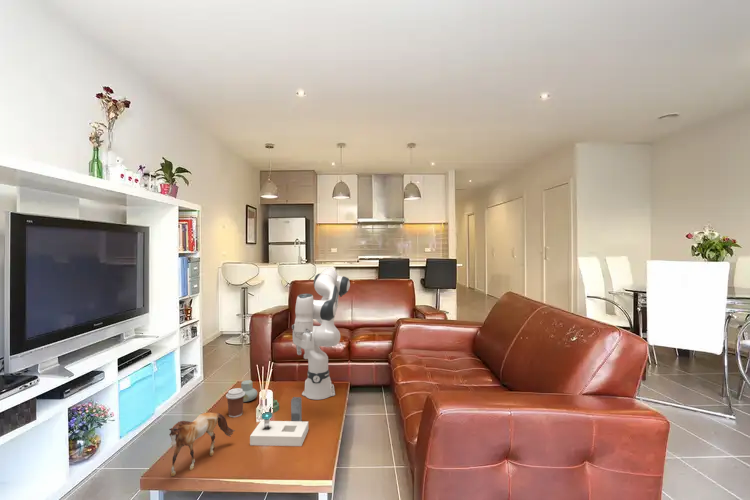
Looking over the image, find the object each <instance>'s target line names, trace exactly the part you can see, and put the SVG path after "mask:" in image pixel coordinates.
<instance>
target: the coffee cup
mask: <svg viewBox="0 0 750 500" xmlns="http://www.w3.org/2000/svg"><path fill="white" fill-rule="evenodd" d="M244 396H245V392H244V391H243V389H241V387H236V388H232V389H228V391H227V393H226V395H225V398H226V399H227V410H228V416H229V417H230V418H238V417H241V416H242V415H243V408H244V402H243V399H244Z"/></svg>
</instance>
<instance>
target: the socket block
mask: <svg viewBox="0 0 750 500" xmlns="http://www.w3.org/2000/svg"><path fill="white" fill-rule="evenodd" d="M269 427H270V428H269V429H268V430H265V429H264V420H261V421H259V423H258V425H257V426H255V429H253V431H252V432H251V434H250V436H249V445H250V446H266V447H268V446H271V447H272V446H273V447H275V446H277V447H302V446H303V443H304V441H305V439H306V437H307V434H308V432H309V421H303V420H302V421H291V420H284V421H283V420H269Z"/></svg>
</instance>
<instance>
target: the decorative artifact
mask: <svg viewBox="0 0 750 500" xmlns="http://www.w3.org/2000/svg"><path fill="white" fill-rule="evenodd" d="M272 409H273V413H272V414H274V413H277V412H278V411H279V410H280V403H279V402H278V400H277V399H275V398H273V408H272Z"/></svg>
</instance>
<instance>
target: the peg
mask: <svg viewBox="0 0 750 500" xmlns="http://www.w3.org/2000/svg"><path fill="white" fill-rule="evenodd" d="M302 403H303V402H302V396H292V398H291V400H290V421H303V420H302V419H303V418H302V410H303V406H302Z"/></svg>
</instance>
